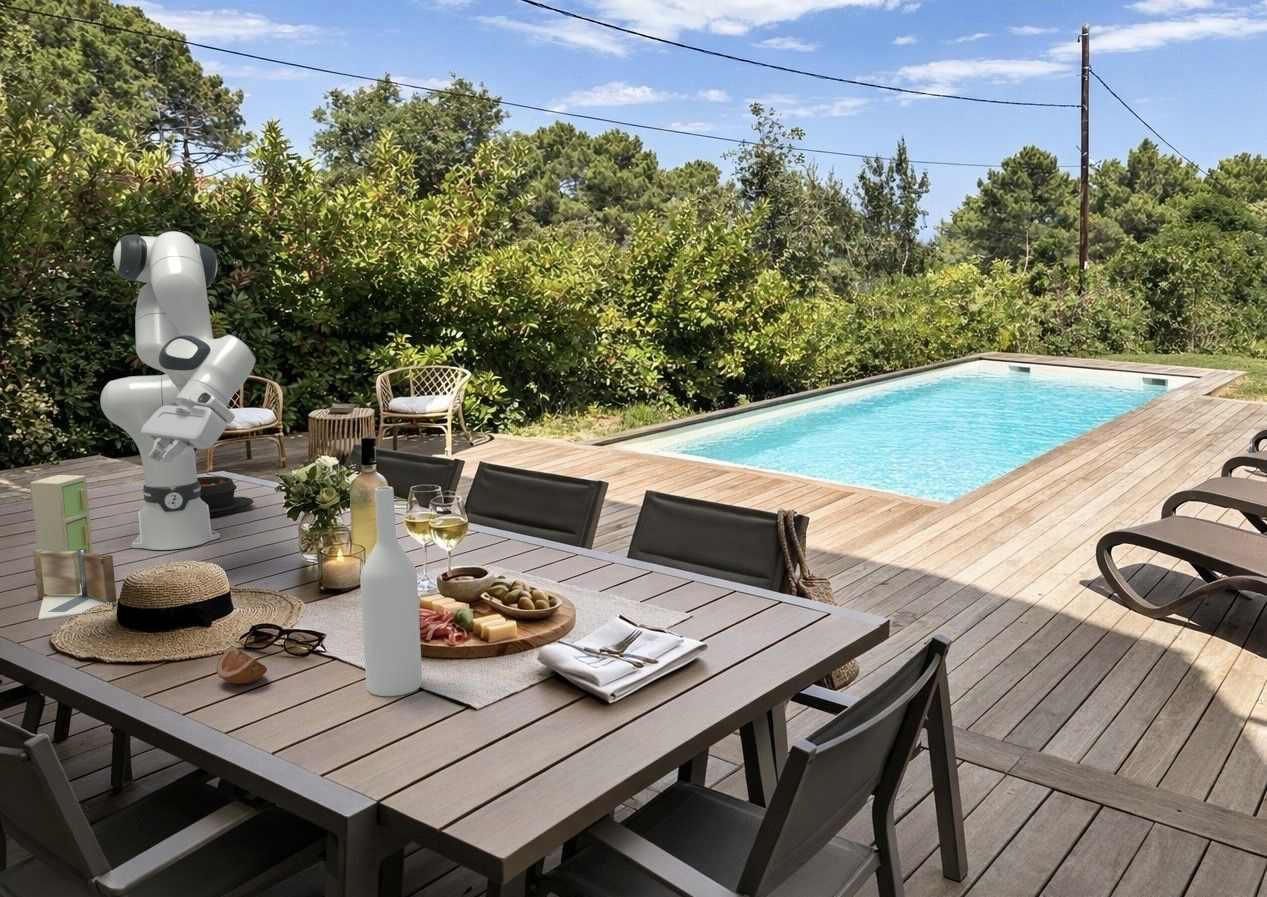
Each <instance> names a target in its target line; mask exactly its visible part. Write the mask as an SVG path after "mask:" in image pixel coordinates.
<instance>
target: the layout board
mask: <svg viewBox="0 0 1267 897" xmlns="http://www.w3.org/2000/svg"><path fill="white" fill-rule="evenodd" d="M80 588H81V583H80ZM106 602H107V601H104V600H100V599H97V598H93V597H82V590H81V593H80V594H78V595H61V594H47V596H45V597H43V598H42V602H41V604H40V610H39V613H38V618H37V620H38V621H42V620H49V619H58V618H64V617H73V616H78V615H77V614H79V613H82V612H84V611H85V610H87V609H90V608H92V607H94V606H96V605H100V604H103V603H106Z"/></svg>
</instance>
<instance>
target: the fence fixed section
mask: <svg viewBox="0 0 1267 897" xmlns="http://www.w3.org/2000/svg"><path fill="white" fill-rule="evenodd" d="M86 553H87V549H79V550H77V551H42V549H37V548H34V549H32V556H33V563H34V565H33V566H34V572H35V573H34V574H35V583H36V591H37V599H39V598H42V599H43V597H45V596H47V594H61V595H78V594H80V593H81V590H82V597H90V596H88V594H87V584H86V574H85V564H84V560H82V554H86ZM77 556H78V559H77ZM78 561H79V569H78ZM79 571H80V579H79ZM80 584H81V588H80Z"/></svg>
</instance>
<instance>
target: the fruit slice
mask: <svg viewBox="0 0 1267 897" xmlns="http://www.w3.org/2000/svg"><path fill="white" fill-rule="evenodd" d="M216 665H217V666H216V672H217V673H216V674H217V675H218V677H220V678H221V679H222V680H224V681H225V682H228V683H230V684H231V683H232V684H238V685H245V684H246V685H247V684H250V683H253V682H255V681H257V680H259V679H260V678H261V677H263V676H264V675H265V674H266V673H267V671H268V668H267V667H266V665H264V664H262V663H261V662H259V661H258V660H257V659H255V658H253V657H252V656H250V655H249V654H247V653H244V652H243V650H241V649H239V648H238V647H236V646H234V645H232V644H231V645H230V646H229V647H228V648H227V650H226V651H224V653H223V654H222V655H221V656H220V659H219V661H218V662H217V664H216Z"/></svg>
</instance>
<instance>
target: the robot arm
mask: <svg viewBox="0 0 1267 897" xmlns="http://www.w3.org/2000/svg"><path fill="white" fill-rule="evenodd" d="M112 258H113V259H112V260H113V264H114V267H115V270H116V273H117V275H119V276H120V277H121V278H123V279H125V280H129V281H131V282H136V281H137V282H138V281H139V282H141V283H146V284H144V285H143V286H142V287H141V288H140V289H139V292H138V296H137V300H136V305H135V306H136V307H135V318H134V320H135V324H134V326H135V352H136V354H137V356H138V358H139V359H140V361H141V362H143V363H144V364H145V365H147V366H149V367H151V368H153V369H155V370H158V371H160V372H162V373H164V374H162V375H160V374H159V375H156V374H155V375H135V376H127V377H122V378H117V379H113V380H110V381H108V382H107V383H106V385H105V386H104V387H103V389H102V391H101V395H100V407H101V410H102V412H103V414H104V415H105V417H106V418H107V419H108V420H109V421H111V423H113V424H115V425H116V426H118V427H120V428H121V429H122V430H124V431H125V432H126V433H127V434H128V435H129V437H131V438H132V440H133V441H134V444H135V445H136V446H137V448H138V451H139V454H140V458H141V462H142V468H143V477H144V485H143V487H142V488H143V490H142V494H143V501H145V502H144V505H143V506H142V507H141V508H140V510H138V514H137V524H138V525H139V526H138V533H139V534H138V536H137V537H135V539H134V540H133V541H132V543H131V548H132V549H146V550H152V551H153V550H154V551H159V550H160V551H168V550H179V549H187V548H191V547H196V546H201V545H203V544H207V543H208V542H210V541H211V542H212V541H215V540H219V539H221V534H220V533H219V532H218V531H216V530H215V529H212V526H211V518H210V517H211V516H209V507H208V504H206V503H205V502H204V501H202V500H201V498H200V495H201V492H200V490H201V487H200V483H199V481H198V480H197V477H198V474H197V473H198V472H197V460H196V452H195V449H201V450H208V449H209V448H211V447H212V446H213V445H215V444H216V442H217V441H218V440H219V439H220V437H221V436H222V434H223V433H224V432H225V430H226V429H227V426H228V424H231V423H232V422H233V421H234V420H235V418H236V415H235V414H234V413H233V412H232V410H230V408H228V405H229V404H230V401H231V398H232V397H233V396H234V394H236V393H237V392H239V391H240V389H241V388H242V387H243V385H244V384H245V382H246V381H247V380H248V378H249V377H250V375H251V373H252V371H253V369H254V367H255V364H256V356H255V354H254V352H253V351H252V349H251V347H249V345H247V344H246V343H245V341H243V340H242V339H240V338H239V337H237V336H235V335H231V334H227V335H224V336H222V337H219V338H215V336H214V331H213V327H212V322H211V321H212V320H211V314H210V307H209V302H208V292H207V288H209V287H210V286H211V285H212V284H213V282H214V280H215V278H216V276H217V273H218V260H217V256H216V253H215V251H214V250H213V248H212V247H210V246H208V245H205V244H203V243H200V242H197V243H195V241H194V239H192V237H190V236H189V235H187V234H186V233H183V232H181V231H173V230H172V231H167V232H164V233H162V234H159V235H158V236H148V235H147V236H146V235H145V236H143V235H142V236H141V235H139V234H126V235H124V236H122V237H121V238H119V240H118V241H117V244H116V245H115V247H114V250H113V255H112ZM218 538H219V539H218Z"/></svg>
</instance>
